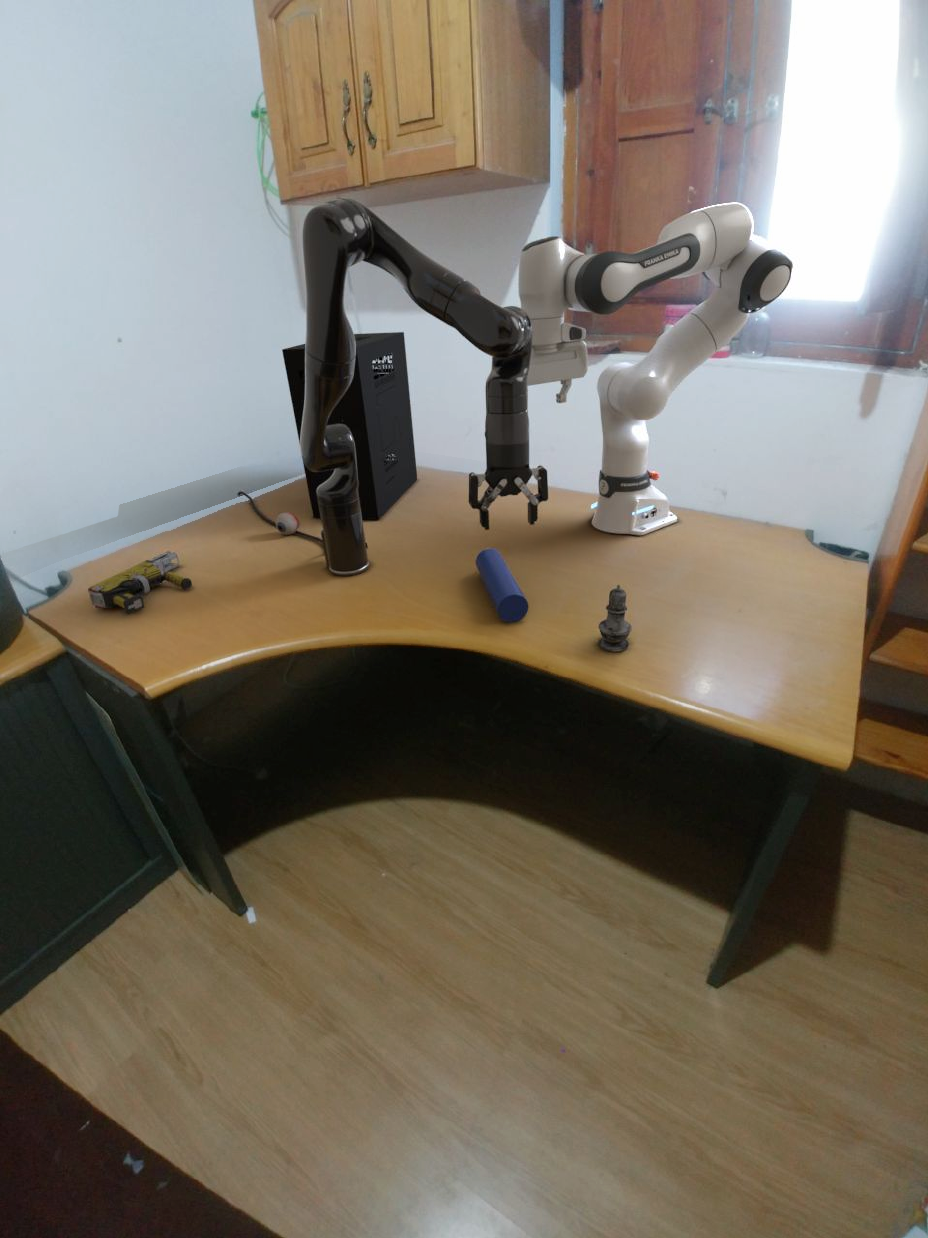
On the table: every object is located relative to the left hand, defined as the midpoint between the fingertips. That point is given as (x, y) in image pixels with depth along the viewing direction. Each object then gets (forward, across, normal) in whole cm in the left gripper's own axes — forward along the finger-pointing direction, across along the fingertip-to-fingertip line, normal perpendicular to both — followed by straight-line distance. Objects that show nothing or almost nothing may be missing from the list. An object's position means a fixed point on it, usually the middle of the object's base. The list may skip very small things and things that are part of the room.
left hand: (508, 526), depth 112 cm
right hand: (-16, +14, +25) cm, 33 cm away
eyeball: (+18, -48, +58) cm, 78 cm away
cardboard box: (+18, -25, +83) cm, 89 cm away
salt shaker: (+19, +15, -16) cm, 29 cm away
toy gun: (+18, -76, +32) cm, 84 cm away
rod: (+19, 0, +8) cm, 20 cm away
